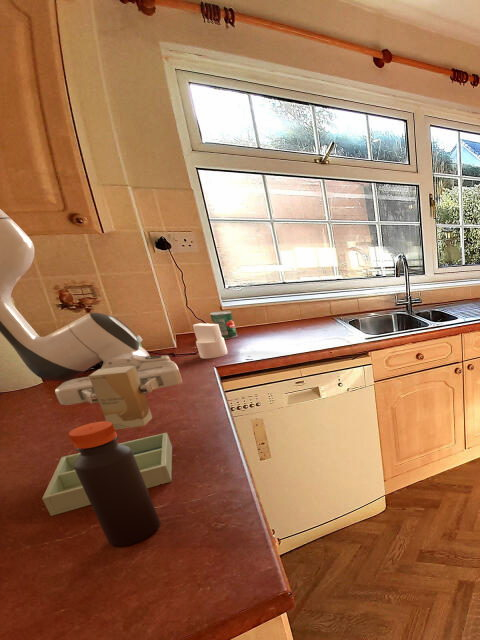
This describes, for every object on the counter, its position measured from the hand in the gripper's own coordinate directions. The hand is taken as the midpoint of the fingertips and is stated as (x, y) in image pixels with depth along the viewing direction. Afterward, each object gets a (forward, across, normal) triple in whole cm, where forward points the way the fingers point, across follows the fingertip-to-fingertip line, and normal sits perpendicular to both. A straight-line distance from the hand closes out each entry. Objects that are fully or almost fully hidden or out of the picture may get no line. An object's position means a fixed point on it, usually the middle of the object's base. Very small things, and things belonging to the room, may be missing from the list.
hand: (120, 394), depth 86 cm
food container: (-87, -8, +17) cm, 89 cm away
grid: (+4, -4, +16) cm, 17 cm away
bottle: (+28, 0, +16) cm, 32 cm away
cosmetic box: (-1, 0, +7) cm, 7 cm away
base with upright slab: (-83, +17, +17) cm, 87 cm away
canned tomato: (-111, +24, +17) cm, 115 cm away
